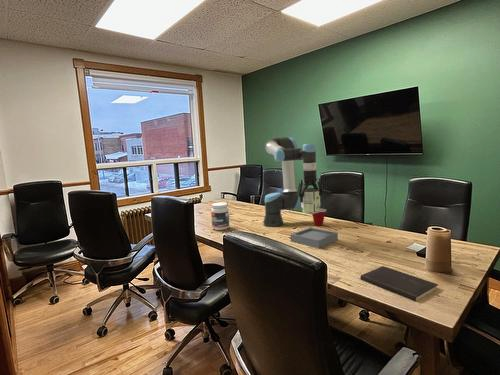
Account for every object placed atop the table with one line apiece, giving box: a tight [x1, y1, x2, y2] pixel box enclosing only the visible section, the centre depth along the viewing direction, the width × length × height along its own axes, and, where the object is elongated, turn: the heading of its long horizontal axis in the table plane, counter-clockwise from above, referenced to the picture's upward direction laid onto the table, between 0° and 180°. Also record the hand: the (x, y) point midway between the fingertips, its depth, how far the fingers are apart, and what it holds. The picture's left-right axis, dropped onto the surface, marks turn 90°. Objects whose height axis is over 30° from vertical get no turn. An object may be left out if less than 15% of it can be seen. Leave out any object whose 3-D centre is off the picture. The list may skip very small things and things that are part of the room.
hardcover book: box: [359, 265, 439, 303], centre depth 118 cm, size 16×23×2 cm
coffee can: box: [302, 187, 320, 215], centre depth 176 cm, size 10×10×14 cm
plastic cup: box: [311, 207, 327, 227], centre depth 210 cm, size 11×11×12 cm
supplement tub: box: [210, 202, 230, 231], centre depth 214 cm, size 13×13×18 cm
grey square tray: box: [289, 226, 339, 249], centre depth 177 cm, size 20×20×4 cm
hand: (310, 206), depth 177 cm, fingers closed on coffee can, 10 cm apart
